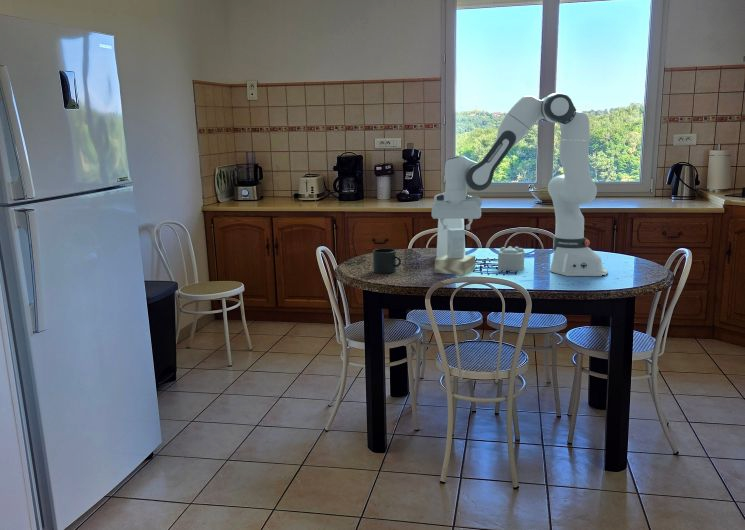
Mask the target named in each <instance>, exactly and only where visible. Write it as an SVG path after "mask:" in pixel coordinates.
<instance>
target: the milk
mask: <svg viewBox="0 0 745 530" xmlns="http://www.w3.org/2000/svg"><path fill="white" fill-rule="evenodd" d="M437 220H438V221H437V238H436V241H437V242H436V257H435V259H436V258H438V257H441V256H443V255H445V254H447V231H448V229H453V228H462V229H464V230H465V219H444V223H445V225H447V229H443V225H442V223H441V222H440V219H437ZM465 234H466V233H465V232H464V255H466V239H465V238H466V237H465Z"/></svg>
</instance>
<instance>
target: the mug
mask: <svg viewBox="0 0 745 530" xmlns="http://www.w3.org/2000/svg"><path fill="white" fill-rule="evenodd" d="M396 252H397V251H396V249H393V248H376V249H374V250H372V256H373V257H372V259H373V260H372V261H373V263H372V265H373V266H372V267H373V269H372V270H373V271H372V272H373V273H375V274H378V273H379V274H378V275H389V274H390V273H391V274H394V273H396V271H397V267H399V266H401V264H402V260H401V258H400V256H397V255H396V254H397V253H396ZM397 260H398V264H397Z"/></svg>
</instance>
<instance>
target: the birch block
mask: <svg viewBox="0 0 745 530" xmlns="http://www.w3.org/2000/svg"><path fill="white" fill-rule="evenodd" d="M475 269H476V256H475V255H466V254H465V255H464V258H455V259H450V258H449V257H447V254H445V255H443V256H441V257H438V258H436V257H435V259H434V273H436V274H438V273H440V274H447V275H449V274H450V275H460V276H465V274H466V275H468V274H469V273H471V272H472V271H474V270H475Z"/></svg>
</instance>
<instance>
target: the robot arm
mask: <svg viewBox="0 0 745 530" xmlns="http://www.w3.org/2000/svg"><path fill="white" fill-rule="evenodd" d="M540 120H542V121H544V122H547V123H554V124H558V125H559V128H560V139H559V140H560V142H559V157H558V160H559V162H560V164H561V166H562V169H563V170H562V171H563V174H560V175H556V176H554V177H552V178H551V179H550V180H549V182H548V184H547V192H548V195H549V196H550V198H551V200H552V205H553V210H554V216H555V231H554V232H555V234H554V237H553V242H552V243H553V244H552V245H553V246H552V249H553V256H552V262H551V265H550V268H549V272H552V273H554V274H559V275H562V276H567V277H603V276H602V275H605V276H607V275H608V274H607V273H608V269H607V268H605V267H603V262H602V259H601V257H600V255H599V254H598V253H596V252H595V251H594V250H592V249H591V248H590V247H589V246H590V243H591V242H590V240H589V239H588V238H586V237H585V236H584V235H585V234H584V233H585V232H584V231H585V217H584V215H583V213H582V212H581V208H580V206H581V205H586V204H590V203H591V202H593V201H594V200H595V198H596V196H597V192H598V189H597V185H596V183H595V182H594V180H593V178H592V175H591V169H590V161H589V158H590V157H589V155H590V151H589V150H590V140H591V139H590V136H591V134H590V131H591V130H590V120H589V116H588V115H587V113H586V112H583V111H580V110H577V109H576V107H575V105H574V103H573V101H572V99H571V97H569V95H568V94H566V93H563V92H554V93H551V94H548V95H547V96H545V97H543V98H541V99H538V98H537V97H536V96H534V95H528V94H527V95H524V96H522V97H521V98H520V99H519V100H518V101H517V102H516V103H515V104H514V105H513V106H512V107H511V108H510V109H509V111H508V112H507V113H506V115H504V118H503V119H502V121H501V123H500V124H499V126H498V129H497V133H496V134H497V135H496V138H495V140H494V143H493V144H492V146H491V148H490V149H489V150H488V152H487V153H486V154H485V156H484V157H483V158H482V160H480V161H478V162H477V161H474V160H473V159H469V158H468V157H466V156H465V155H463V154H460V155H453V156H451V157H449V158H448V159H447V160H446V162H445V165H444V181H445V186H444V187H445V188H444V192H440V193H438V194H436V195H434V197H433V200H434V201H433V203H432V206H431V217H432V219H433V220H435V219H437V220H438V219H440V222H441V223H442V225H443V229H447V225H445V223H444V219H464V220H465V219H466V220H468V224H466V225H465V230H466V231H467V230H468V231H469V230H471V224H472V223H473V220H477V219H480V218H481V217H482V207H481V206H482V203H483V201H482V198H481V197H480V196H478V195H468V187H469V188H470V189H472V190H473V191H479V192H480V191H484V190H486V189H487V188H489V186H491V183H492V181H493V178H494V174H495V171H496V169H497V168H498V166H499V165H500V164H501V163H502V161H503V160H504V159H505V157H506V155H507V154H508V153H509V152H510V151H511V150H512V149H513V148H515V146H516V145H518V144H519V142H520V141H522V140H523V139H524V138H525V137H526V135H527V134H528V133H529V132H530V130H531V129H532V128H533V127H534V125H535V124H536V123H537V122H538V121H540ZM606 274H607V275H606Z"/></svg>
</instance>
